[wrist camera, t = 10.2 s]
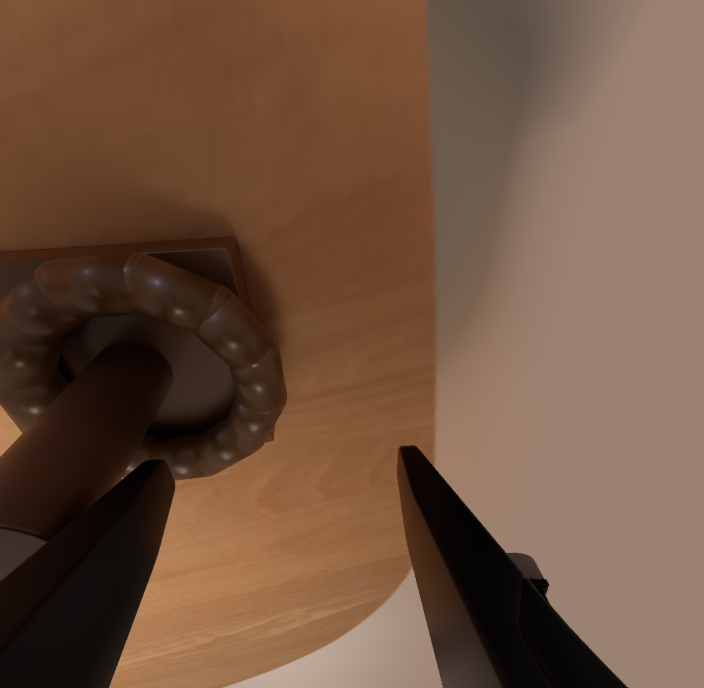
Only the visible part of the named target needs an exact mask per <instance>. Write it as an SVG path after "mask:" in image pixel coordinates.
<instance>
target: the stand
mask: <svg viewBox="0 0 704 688" xmlns="http://www.w3.org/2000/svg"><path fill="white" fill-rule="evenodd" d="M130 253H141V254H147V255H150V256H153V257H156V258H158V259H161V260H163V261H166V262H168V263H171V264H173V265H176V266H178V267H180V268H183V269H185V270H188V271H190V272H193V273H195V274H198V275H200V276H203V277H205V278H208V279H210V280H213V281H215V282H218V283H220V284H222V285H224V286H226V287H227V288H229V289H230V290H231V291H232V292H233V293H234V294H235V295H236V296H237V297H238V298H239V300H240V301H241V302H242V303H243V304H244V305H245V306H246V307H247V308H248V309H249V311H250V312H251V313H252V311H251V306H250V302H249V297H248V293H247V288H246V283H245V279H244V274H243V270H242V265H241V260H240V256H239V251H238V247H237V242H236V238H235V237H222V238H207V239H192V240H177V241H162V242H147V243H132V244H117V245H102V246H87V247H72V248H57V249H42V250H27V251H12V252H0V298H1V297H2V296H3V295H4V294H5V293H7V292H8V291H9V290H10V289H12V288H13V287H14V286H15V285H16V284H18V283H19V282H20V281H21V280H22V279H24V278H25V277H26V276H27V275H28V274H30V273H31V272H32V271H33V270H34V269H36V268H37V267H38V266H40V265H41V264H43V263H44V262H46V261H49V260H52V259H57V258H68V257H84V256H99V255H115V254H130ZM58 368H59V370H60V371H61V373H62V374H63V376H64V378H65V379H66V381H67V383H68V384H69V385H68V386H67V387H66V388H65V389H64V390H63V391H62V393H61V394H60V395H59V396H58V397H57V398H56V399H55V400H54V401H53V402H52V403H51V404H50V405H49V406H48V407H47V408H46V409H45V410H44V411H43V412H42V414H41V415H40V416H39V417H38V418H37V419H36V420H35V421H34V422H33V423H32V424H31V425H30V426H29V427H28V428H27V429H26V430H25V431H24V432H23V434H22V435H21V436H20V437H19V438H18V439H17V440H16V441H15V442H14V443H13V444H12V445H11V446H10V447H9V448H8V449H7V450H6V451H5V452H4V454H3V455H2V456H1V457H0V581H1V580H2V579H3V578H5V577H6V576H7V575H8V574H9V573H11V572H12V571H13V570H14V569H15V568H17V567H18V566H19V565H20V564H21V563H23V562H24V561H25V560H26V559H27V558H29V557H30V556H31V555H32V554H33V553H35V552H36V551H37V550H38V549H39V548H41V547H42V546H43V545H44V544H45V543H47V542H48V541H49V540H50V539H51V538H53V537H54V536H55V535H56V534H57V533H59V532H60V531H61V530H62V529H63V528H65V527H66V526H67V525H68V524H69V523H71V522H72V521H73V520H74V519H75V518H76V517H78V516H79V515H80V514H81V513H82V512H84V511H85V510H86V509H87V508H88V507H90V506H91V505H92V504H93V503H94V502H96V501H97V500H98V499H99V498H100V497H102V496H103V495H104V494H105V493H106V492H108V491H109V490H110V489H111V488H112V487H114V486H115V485H116V484H117V483H118V482H120V481H121V479H122V477H123V475H124V474H125V472H126V470H127V468H128V466H129V464H130V462H131V461H132V459H133V457H134V455H135V453H136V451H137V449H138V448H139V446H140V444H141V442H142V440H143V438H144V436H145V435H146V433H148V434H152V435H156V436H160V437H167V436H176V435H186V434H195V433H202V432H204V431H206V430H207V429H209V428H211V427H212V426H214V425H216V424H217V423H219V422H221V421H222V420H224V419H226V418H227V417H228V415H229V413H230V411H231V408H232V406H233V404H234V402H235V400H236V397H237V394H236V390H235V387H234V383H233V380H232V376H231V372H230V369H229V366H228V365H227V364H226V363H225V362H224V361H223V360H222V359H221V358H219V357H218V356H217V355H216V354H215V353H214V352H213V351H212V350H211V349H210V348H209V347H208V346H207V345H205V344H204V343H203V342H202V341H201V340H200V339H199V338H198V337H197V336H196V335H195V334H194V333H191V332H188V331H185V330H182V329H180V328H177V327H174V326H171V325H168V324H165V323H162V322H159V321H156V320H154V319H151V318H148V317H145V316H142V315H139V314H134V315H121V316H108V317H95V318H88V319H87V320H85V321H84V322H82V323H81V324H80V325H78V326H77V327H76V328H74V329H73V330H72V331H70V332H69V333H68V334H66V335H65V336H64V337H62V343H61V351H60V358H59V365H58ZM274 429H275V425H274V427H273V428H272V430H271V432H270V434H269V436H268V438H267V439H266V441H265V442H269V441H273V438H274Z"/></svg>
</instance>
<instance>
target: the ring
mask: <svg viewBox="0 0 704 688" xmlns="http://www.w3.org/2000/svg"><path fill="white" fill-rule="evenodd" d="M134 314H139V315H142V316H145V317H148V318H151V319H154V320H156V321H159V322H162V323H165V324H168V325H171V326H174V327H177V328H180V329H182V330H185V331H188V332H191V333H194V334H195V335H196V336H197V337H198V338H199V339H200V340H201V341H202V342H203V343H204V344H205V345H207V346H208V347H209V348H210V349H211V350H212V351H213V352H214V353H215V354H216V355H217V356H218V357H219V358H221V359H222V360H223V361H224V362H225V363H226V364H227V365H228V366H229V369H230V372H231V376H232V380H233V383H234V387H235V390H236V394H237V397H236V400H235V402H234V404H233V406H232V408H231V411H230V413H229V415H228V417H227V418H226V419H224V420H222V421H221V422H219V423H217V424H216V425H214V426H212V427H211V428H209V429H207V430H206V431H204V432H202V433H195V434H186V435H176V436H167V437H160V436H156V435H152V434H148V433H146V435H145V436H144V438H143V440H142V442H141V444H140V446H139V448H138V449H137V451H136V453H135V455H134V457H133V459H132V461H131V462H130V464H129V466H128V468H127V470H126V472H125V474H124V475H123V478H124V477H126V476H127V475H128V474H129V473H130V472H132V471H133V470H134V469H135V468H136V467H138V466H139V465H140V464H141V463H143V462H144V461H146V460H155V459H163V460H165V461H166V463H167V465H168V467H169V469H170V471H171V474H172V476H173V478H174V480H183V479H192V478H201V477H208V476H212V475H215V474H217V473H219V472H220V471H222V470H224V469H226V468H228V467H229V466H231V465H233V464H235V463H237V462H238V461H240V460H242V459H244V458H246V457H247V456H249V455H251V454H253V453H255V452H256V451H258V450H259V449H260V448H261V447H262V446H263V445H264V443H265V441H266V439H267V438H268V436H269V434H270V432H271V430H272V428H273V427H274V425H275V423H276V421H277V419H278V418H279V416H280V414H281V412H282V410H283V408H284V406H285V404H286V400H287V392H286V386H285V381H284V375H283V369H282V364H281V358H280V353H279V347H278V344H277V342H276V340H275V338H274V337H273V336H272V335H271V333H270V332H269V331H268V330H267V329H266V328H265V327H264V326H263V325H262V324H261V323H260V321H259V320H258V319H257V318H256V317H255V316H254V315H253V314H252V313H251V312H250V311H249V309H248V308H247V307H246V306H245V305H244V304H243V303H242V302H241V301H240V300H239V298H238V297H237V296H236V295H235V294H234V293H233V292H232V291H231V290H230V289H229V288H227V287H226V286H224V285H222V284H220V283H218V282H215V281H213V280H210V279H208V278H205V277H203V276H200V275H198V274H195V273H193V272H190V271H188V270H185V269H183V268H180V267H178V266H176V265H173V264H171V263H168V262H166V261H163V260H161V259H158V258H156V257H153V256H150V255H147V254H141V253H130V254H115V255H99V256H84V257H68V258H57V259H52V260H49V261H46V262H44V263H43V264H41V265H40V266H38V267H37V268H36V269H34V270H33V271H32V272H31V273H30V274H28V275H27V276H26V277H25V278H24V279H22V280H21V281H20V282H19V283H18V284H16V285H15V286H14V287H13V288H12V289H10V290H9V291H8V292H7V293H5V294H4V295H3V296H2V297H1V298H0V405H1V406H2V407H3V409H4V410H5V411H6V413H7V414H8V415H9V416H10V418H11V419H12V420H13V422H14V423H15V424H16V425H17V427H18V428H19V429H20V431H21V432H22V433H23V432H24V431H25V430H26V429H27V428H28V427H29V426H30V425H31V424H32V423H33V422H34V421H35V420H36V419H37V418H38V417H39V416H40V415H41V414H42V412H43V411H44V410H45V409H46V408H47V407H48V406H49V405H50V404H51V403H52V402H53V401H54V400H55V399H56V398H57V397H58V396H59V395H60V394H61V393H62V391H63V390H64V389H65V388H66V387H67V386H68V385H69V384H68V383H67V381H66V379H65V378H64V376H63V374H62V373H61V371H60V370H59V368H58V365H59V358H60V351H61V343H62V337H64V336H65V335H66V334H68V333H69V332H70V331H72V330H73V329H74V328H76V327H77V326H78V325H80V324H81V323H82V322H84V321H85V320H87V319H88V318H95V317H108V316H121V315H134Z"/></svg>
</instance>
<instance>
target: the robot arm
mask: <svg viewBox="0 0 704 688" xmlns="http://www.w3.org/2000/svg"><path fill="white" fill-rule="evenodd" d="M397 478H398V485H399V492H400V500H401V507H402V514H403V521H404V528H405V535H406V541H407V545H408V550H409V554H410V558H411V562H412V566H413V570H414V574H415V578H416V582H417V586H418V589H419V593H420V598H421V602H422V605H423V610H424V614H425V617H426V621H427V625H428V629H429V633H430V637H431V641H432V645H433V649H434V653H435V657H436V661H437V665H438V669H439V673H440V677H441V681H442V685H443V688H628V687H627V686H626V685H625V684H624V683H623V682H622V681H621V680H620V679H619V678H618V677H617V676H616V675H615V674H614V673H613V672H612V671H611V670H610V669H609V668H608V667H607V666H606V665H605V664H604V663H603V662H602V661H601V660H600V659H599V657H597V655H596V654H595V653H594V652H593V651H592V650H591V649H590V648H589V647H588V646H587V645H586V644H585V643H584V642H583V641H582V640H581V639H580V638H579V636H578V635H576V633H575V632H574V631H573V630H572V629H571V628H570V627H569V626H568V625H567V624H566V622H565V621H564V620H563V619H562V618H561V617H560V616H559V614H558V613H557V612H556V611H555V610H554V609H553V608H552V606H551V605H550V603H549V601H548V599H547V597H546V595H545V592H546V591H547V589H548V587H549V583H548V581H547V579H539V580H532V581H529V579H528V578H524V574H523V572H522V571H521V570H520V569H519V568H518V566H517V565H516V564H515V563H514V562H513V561H512V559H511V558H510V557H509V556H508V555H507V553H506V552H505V551H504V550H503V549H502V547H501V546H500V545H499V544H498V543H497V542H496V540H495V539H494V538H493V537H492V536H491V534H490V533H489V532H488V531H487V530H486V528H485V527H484V526H483V525H482V524H481V522H480V521H479V520H478V519H477V518H476V517H475V515H474V514H473V513H472V512H471V511H470V509H469V508H468V507H467V506H466V505H465V504H464V502H463V501H462V500H461V499H460V498H459V496H458V495H457V494H456V493H455V492H454V490H453V489H452V488H451V487H450V486H449V484H448V483H447V482H446V481H445V480H444V479H443V477H442V476H441V475H440V474H439V473H438V471H437V470H436V469H435V468H434V467H433V465H432V464H431V463H430V462H429V461H428V459H427V458H426V457H425V456H424V455H423V454H422V452H421V451H420V450H419V449H418V448H417V447H416V446H414V445H409V446H400V447H399V449H398V461H397ZM174 492H175V481H174V478H173V476H172V474H171V471H170V469H169V467H168V465H167V463H166V461H165V460H163V459H155V460H146V461H144V462H143V463H141V464H140V465H139V466H138V467H136V468H135V469H134V470H133V471H132V472H130V473H129V474H128V475H127V476H126V477H124V478H123V479H122V480H121V481H120V482H118V483H117V484H116V485H115V486H114V487H112V488H111V489H110V490H109V491H108V492H106V493H105V494H104V495H103V496H102V497H100V498H99V499H98V500H97V501H96V502H94V503H93V504H92V505H91V506H90V507H88V508H87V509H86V510H85V511H84V512H82V513H81V514H80V515H79V516H78V517H76V518H75V519H74V520H73V521H72V522H71V523H69V524H68V525H67V526H66V527H65V528H63V529H62V530H61V531H60V532H59V533H57V534H56V535H55V536H54V537H53V538H51V539H50V540H49V541H48V542H47V543H45V544H44V545H43V546H42V547H41V548H39V549H38V550H37V551H36V552H35V553H33V554H32V555H31V556H30V557H29V558H27V559H26V560H25V561H24V562H23V563H21V564H20V565H19V566H18V567H17V568H15V569H14V570H13V571H12V572H11V573H9V574H8V575H7V576H6V577H5V578H3V579H2V580H1V581H0V688H109V686H110V683H111V681H112V678H113V675H114V673H115V670H116V667H117V665H118V662H119V659H120V657H121V654H122V651H123V648H124V646H125V643H126V640H127V638H128V635H129V632H130V630H131V627H132V624H133V621H134V619H135V616H136V613H137V611H138V608H139V605H140V603H141V600H142V597H143V594H144V592H145V589H146V586H147V584H148V581H149V578H150V576H151V573H152V570H153V567H154V565H155V562H156V559H157V556H158V552H159V549H160V545H161V541H162V538H163V534H164V530H165V526H166V522H167V518H168V515H169V511H170V507H171V503H172V499H173V496H174Z"/></svg>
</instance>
